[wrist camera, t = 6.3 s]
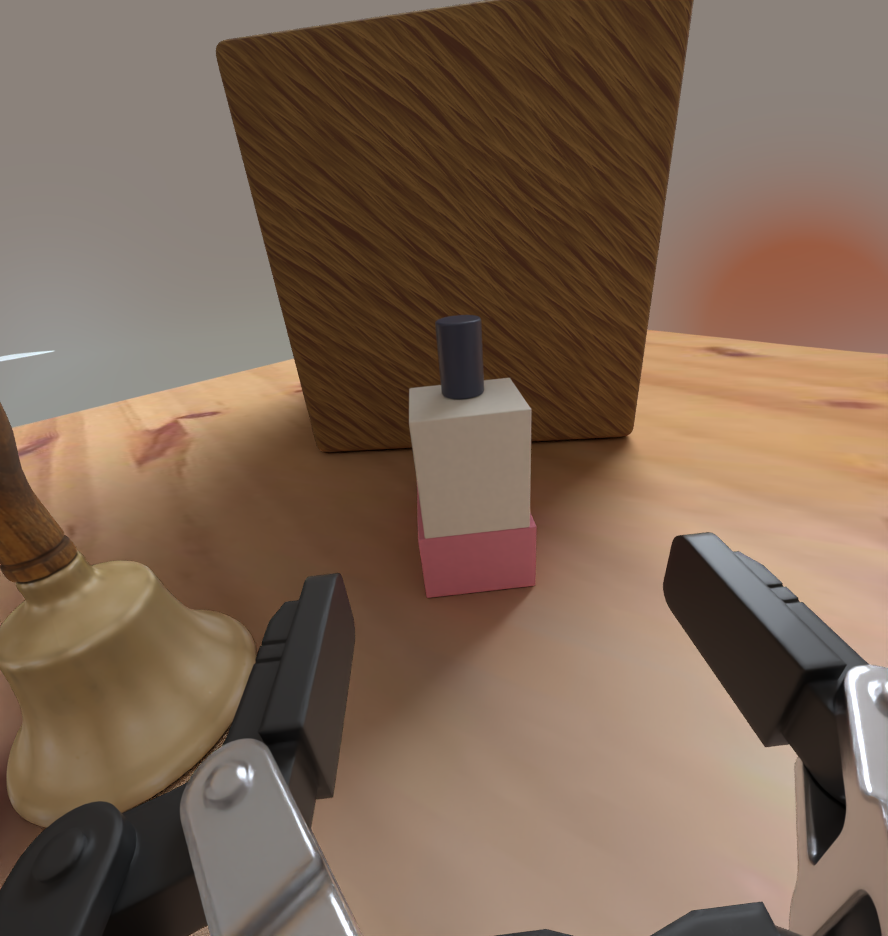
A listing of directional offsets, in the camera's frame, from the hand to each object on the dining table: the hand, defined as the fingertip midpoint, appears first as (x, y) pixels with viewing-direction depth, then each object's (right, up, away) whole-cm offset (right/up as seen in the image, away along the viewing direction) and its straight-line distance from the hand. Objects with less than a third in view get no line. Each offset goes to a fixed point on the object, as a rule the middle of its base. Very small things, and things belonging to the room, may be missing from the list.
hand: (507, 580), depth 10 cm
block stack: (0, -1, +14) cm, 14 cm away
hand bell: (-13, -7, +6) cm, 16 cm away
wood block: (+1, +10, +34) cm, 36 cm away
